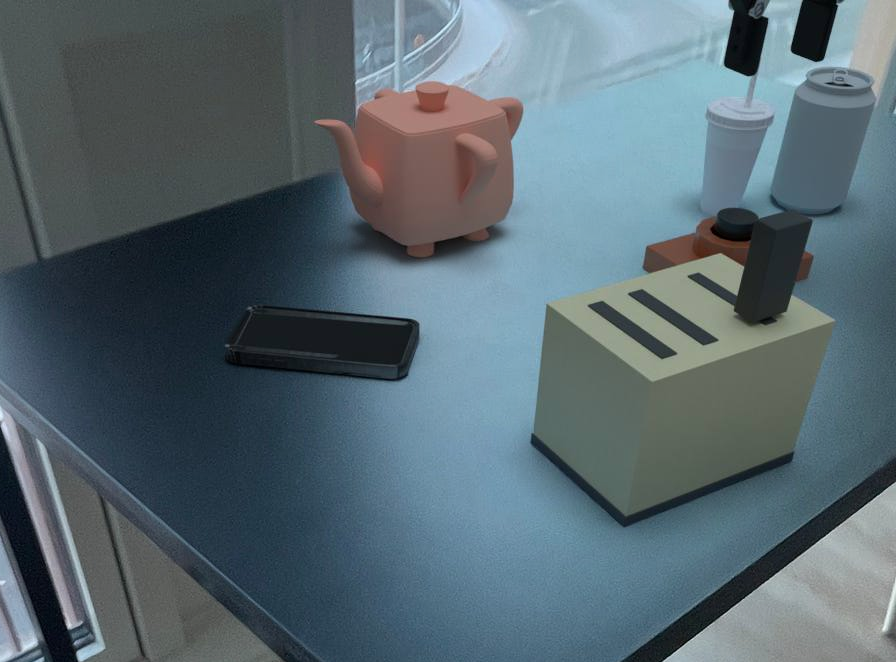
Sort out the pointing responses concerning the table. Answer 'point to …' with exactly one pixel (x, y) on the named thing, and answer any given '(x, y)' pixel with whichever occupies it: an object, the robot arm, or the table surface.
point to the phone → (324, 341)
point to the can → (823, 139)
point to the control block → (704, 250)
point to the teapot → (430, 163)
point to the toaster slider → (772, 265)
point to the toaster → (672, 386)
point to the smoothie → (732, 147)
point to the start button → (735, 224)
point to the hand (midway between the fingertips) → (773, 62)
